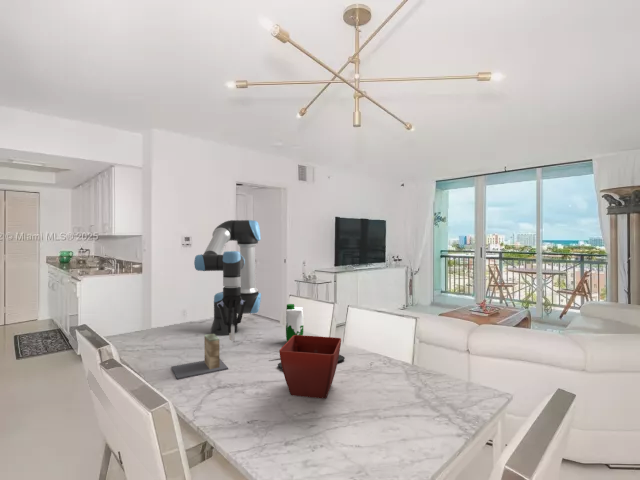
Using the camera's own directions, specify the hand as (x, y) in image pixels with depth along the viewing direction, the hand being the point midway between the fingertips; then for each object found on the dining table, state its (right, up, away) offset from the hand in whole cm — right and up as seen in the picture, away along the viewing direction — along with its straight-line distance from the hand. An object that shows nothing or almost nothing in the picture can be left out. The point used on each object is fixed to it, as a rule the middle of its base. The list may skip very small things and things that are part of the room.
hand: (232, 339), depth 153 cm
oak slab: (-7, -9, -4) cm, 13 cm away
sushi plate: (+30, -11, +5) cm, 33 cm away
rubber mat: (-12, -10, -7) cm, 17 cm away
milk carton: (+26, -10, +28) cm, 39 cm away
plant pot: (+36, -11, -27) cm, 46 cm away
